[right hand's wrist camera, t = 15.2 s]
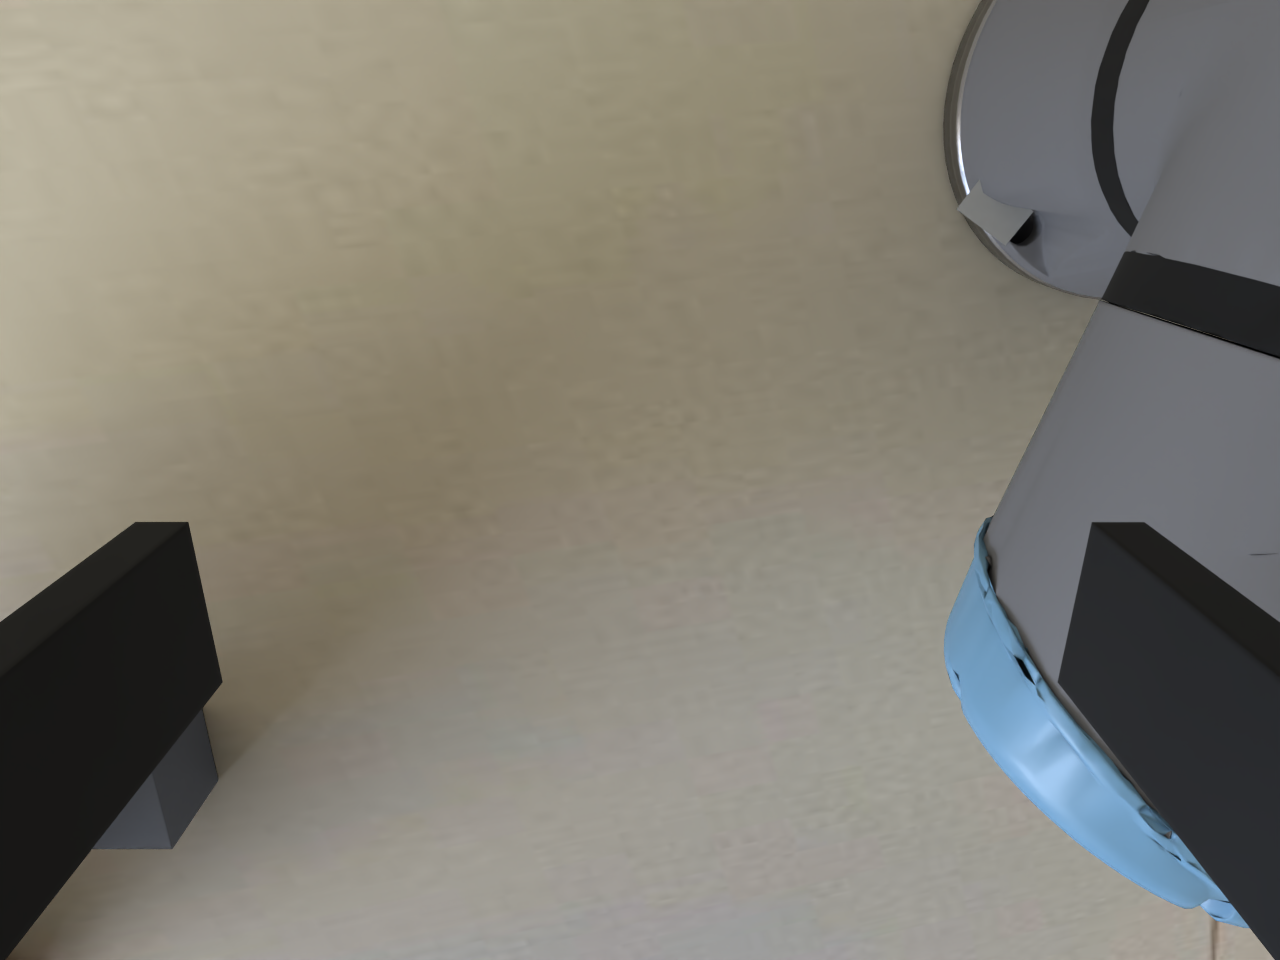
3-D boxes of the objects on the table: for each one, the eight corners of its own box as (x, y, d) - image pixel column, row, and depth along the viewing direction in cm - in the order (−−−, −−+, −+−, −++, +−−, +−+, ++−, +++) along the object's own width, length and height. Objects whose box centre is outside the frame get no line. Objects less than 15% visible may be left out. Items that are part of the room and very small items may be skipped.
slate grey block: (201, 705, 45) (151, 769, 41) (218, 780, 47) (172, 849, 42) (108, 705, 45) (47, 769, 41) (129, 780, 47) (73, 849, 42)
